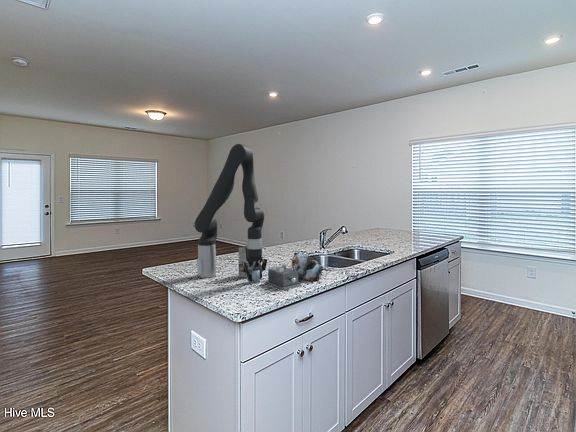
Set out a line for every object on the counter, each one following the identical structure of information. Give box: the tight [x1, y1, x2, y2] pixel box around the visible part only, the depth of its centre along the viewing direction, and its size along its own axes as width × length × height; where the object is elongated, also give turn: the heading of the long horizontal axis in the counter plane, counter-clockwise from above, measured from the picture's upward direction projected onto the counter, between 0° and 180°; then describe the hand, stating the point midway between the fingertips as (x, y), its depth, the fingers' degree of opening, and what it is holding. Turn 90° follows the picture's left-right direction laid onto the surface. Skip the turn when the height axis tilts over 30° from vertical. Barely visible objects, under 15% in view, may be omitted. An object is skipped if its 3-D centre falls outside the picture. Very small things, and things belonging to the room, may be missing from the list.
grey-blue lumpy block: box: [291, 252, 324, 282], centre depth 172 cm, size 17×14×16 cm
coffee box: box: [238, 245, 257, 279], centre depth 176 cm, size 9×6×16 cm
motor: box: [265, 263, 302, 291], centre depth 160 cm, size 11×17×9 cm, turn 37°
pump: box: [249, 267, 261, 284], centre depth 165 cm, size 5×5×7 cm
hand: (255, 279), depth 166 cm, fingers closed on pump, 5 cm apart
